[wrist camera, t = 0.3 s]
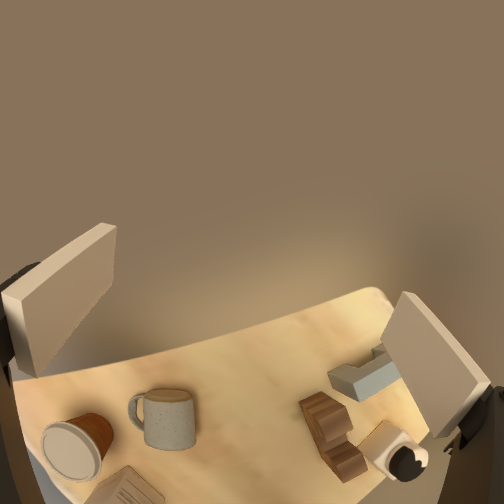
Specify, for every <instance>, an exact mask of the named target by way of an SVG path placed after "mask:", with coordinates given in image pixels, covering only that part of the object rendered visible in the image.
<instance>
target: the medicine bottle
mask: <svg viewBox="0 0 504 504" xmlns="http://www.w3.org/2000/svg"><path fill="white" fill-rule="evenodd" d="M357 449H359V450H360V451H361V452H362V454H363V456H364V457H365V458H366V459H367V460H368V461H369V462H371V463H372V464H373V465H374V466H375V467H376V468H377V469H379V470H380V471H381V472H382V473H384V474H385V475H386V476H387V477H389V478H390V479H391V480H395V479H396V478H397V479H398V480H400V481H402V482H408V481H411V480H413V479H415V478H417V477H418V476H419V475H420V474H421V473H422V472H423V471H424V469H425V468H426V466H427V463H428V453H427V451H426V450H425V449H423V448H421V447H419V446H418V445H417V444H416V443H415V442H414V440H413V439H412V438H411V437H410V436H409V435H408V434H407V433H406V432H405V431H404V430H402V429H400V428H398V427H396V426H394V425H392V424H390V423H388V422H386V421H383V422H382V423H381V424H380V425H379V426H378V427H377V428H376V429H375V430H374V431H373V432H372V433H371V434H370V435H369V436H368V437H367V438H366V439H365V440H364V441H363V442H362V443H361V444H360V445H359V446H358V447H357Z"/></svg>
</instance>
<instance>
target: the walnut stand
mask: <svg viewBox="0 0 504 504" xmlns="http://www.w3.org/2000/svg"><path fill="white" fill-rule="evenodd" d="M299 404H300V406H301V409H302V411H303V414H304V416H305V419H306V421H307V423H308V426H309V428H310V431H311V433H312V435H313V438H314V440H315V443H316V445H317V447H318V450H319V452H320V455H321V457H322V459H323V460H324V461H325V462H326V464H327V465H328V466H329V467H330V468H331V469H332V471H333V472H334V473H335V474H336V475H337V477H338V478H339V479H340V480H341V481H342V482H343V483H345V482H347V481H349V480H351V479H353V478H355V477H357V476H359V475H360V474H362V473H364V472H366V471H367V470H368V468H367V465H366V463H365V460H364V457H363V454H362V452H361V451H360V450H359V449H357V448H356V447H355V446H354V445H353V444H351V443H350V442H349V441H348V440H347V437H346V434H345V433H347V432H348V431H350V430H352V429H353V426H352V423H351V420H350V417H349V415H348V412H347V409H346V407H345V406H344V405H342V404H341V403H339V402H337V401H336V400H334V399H333V398H331V397H329V396H328V395H326V394H325V393H323V392H322V391H321V392H319V393H317V394H315V395H313V396H311V397H308V398H306V399H304V400H302V401H300V402H299Z"/></svg>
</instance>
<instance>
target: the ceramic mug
mask: <svg viewBox="0 0 504 504" xmlns="http://www.w3.org/2000/svg"><path fill="white" fill-rule="evenodd" d="M139 398H144V401H143V412H144V425H143V424H142V423H141V422H140V421H139V420H138V419H137V416H136V405H137V400H138V399H139ZM128 414H129V418H130V420H131V421H132V423H133V424H134V425H135V426H136V427H137V428H138V429H140V430H142V431H144V440H145V443H146V444H147V445H148V446H150V447H153V448H156V449H159V450H166V451H179V450H185V449H188V448H191V447H193V446H194V445H195V444H196V431H195V419H194V404H193V399H192V396H191V395H190V394H189V393H188V392H186V391H182V390H174V389H157V390H151V391H148V392H147V393H146V394H142V395H137V396H134V397H133V398H132V399H131V400H130V401H129V405H128Z"/></svg>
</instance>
